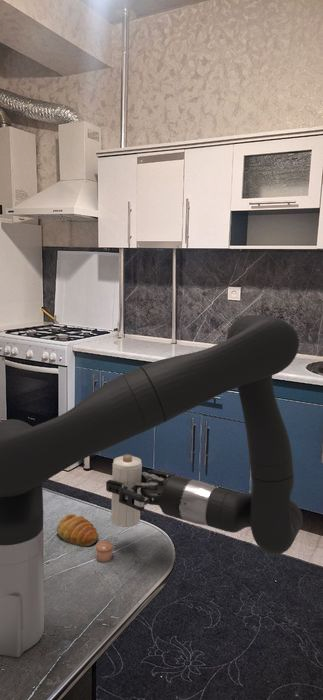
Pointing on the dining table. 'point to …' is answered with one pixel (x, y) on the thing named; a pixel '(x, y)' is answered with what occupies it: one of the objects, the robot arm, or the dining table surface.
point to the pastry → (77, 530)
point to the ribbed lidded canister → (128, 473)
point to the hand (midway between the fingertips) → (116, 479)
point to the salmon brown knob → (104, 551)
